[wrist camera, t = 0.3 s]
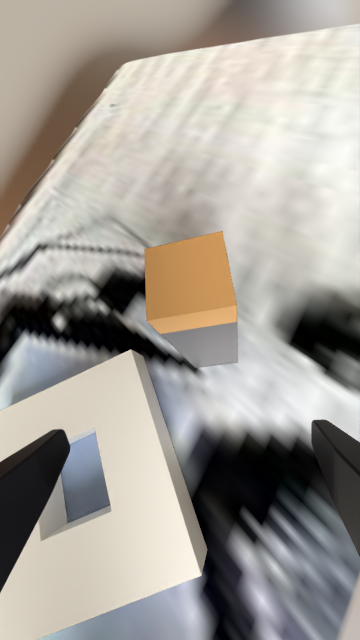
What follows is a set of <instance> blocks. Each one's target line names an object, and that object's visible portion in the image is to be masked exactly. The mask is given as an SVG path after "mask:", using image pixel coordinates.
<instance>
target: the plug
mask: <svg viewBox="0 0 360 640" xmlns="http://www.w3.org/2000/svg"><path fill="white" fill-rule="evenodd" d="M144 250H145V282H146V314H147V322H148V323H149V324H151V325H152V326H153V327H154V328H155V329H156V330H157V331H158V332H159V333H160V334H161V335H162V336H163V337H164V338H165V339H166V340H167V341H168V342H169V343H170V344H171V345H172V346H173V347H174V348H175V349H176V350H177V351H179V352H180V353H181V354H182V355H183V356H184V357H185V358H186V359H187V360H188V361H189V362H190V363H191V364H192V365H193V366H194V367H195V368H199V367H207V366H215V365H223V364H231V363H238V342H237V304H236V299H235V293H234V288H233V283H232V278H231V273H230V268H229V263H228V258H227V253H226V248H225V242H224V237H223V232H222V231H221V232H216V233H212V234H208V235H203V236H199V237H195V238H190V239H186V240H182V241H178V242H173V243H169V244H165V245H160V246H156V247H152V248H147V249H144Z"/></svg>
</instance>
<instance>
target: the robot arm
mask: <svg viewBox="0 0 360 640" xmlns="http://www.w3.org/2000/svg"><path fill="white" fill-rule="evenodd" d="M312 446H313V449H314V452H315V455H316V457H317V460H318V463H319V465H320V468H321V471H322V473H323V476H324V479H325V481H326V484H327V487H328V489H329V492H330V495H331V497H332V500H333V502H334V504H335V506H336V509H337V511H338V513H339V515H340V517H341V519H342V521H343V523H344V525H345V527H346V529H347V531H348V533H349V535H350V537H351V540H352V542H353V544H354V546H355V548H356V550H357V552H358V554H359V556H360V442H358V441H357V440H355V439H354V438H352V437H351V436H349V435H348V434H347V433H345V432H344V431H342V430H341V429H339V428H338V427H336V426H335V425H333V424H332V423H330V422H329V421H327V420H313V421H312ZM69 452H70V444H69V441H68V438H67V435H66V433H65V431H64V430H63V429H53V430H51V431H49V432H48V433H46V434H44V435H43V436H41V437H40V438H38V439H36V440H35V441H33V442H32V443H30V444H28V445H27V446H25V447H23V448H22V449H20V450H19V451H17V452H15V453H14V454H12V455H11V456H9V457H7V458H6V459H4V460H2V461H1V462H0V593H1V591H2V589H3V587H4V585H5V583H6V581H7V579H8V577H9V575H10V574H11V572H12V570H13V568H14V566H15V564H16V562H17V560H18V558H19V556H20V554H21V552H22V551H23V549H24V547H25V545H26V543H27V541H28V539H29V537H30V535H31V533H32V531H33V529H34V527H35V526H36V524H37V522H38V520H39V518H40V516H41V514H42V512H43V510H44V508H45V506H46V504H47V502H48V500H49V498H50V496H51V494H52V492H53V490H54V488H55V485H56V483H57V481H58V478H59V476H60V473H61V471H62V469H63V466H64V464H65V462H66V459H67V457H68V455H69Z"/></svg>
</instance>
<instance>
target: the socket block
mask: <svg viewBox="0 0 360 640" xmlns="http://www.w3.org/2000/svg"><path fill="white" fill-rule="evenodd" d="M53 429H63V430H64V431H65V433H66V435H67V438H68V441H69V444H71V443H73V442H75V441H77V440H80V439H82V438H84V437H86V436H89V435H91V434H93V433H95V432H96V437H97V442H98V447H99V452H100V457H101V462H102V467H103V471H104V476H105V481H106V486H107V491H108V496H109V501H110V506H107V507H105V508H103V509H100V510H98V511H95V512H93V513H91V514H88V515H86V516H84V517H81V518H79V519H77V520H74V521H72V522H69V523H68V522H67V515H66V507H65V500H64V493H63V485H62V478H61V473H60V476H59V478H58V481H57V483H56V485H55V488H54V490H53V492H52V494H51V496H50V498H49V500H48V502H47V504H46V506H45V508H44V510H43V512H42V514H41V516H40V518H39V520H38V522H37V524H36V526H35V527H34V529H33V531H32V533H31V535H30V537H29V539H28V541H27V543H26V545H25V547H24V549H23V551H22V552H21V554H20V556H19V558H18V560H17V562H16V564H15V566H14V568H13V570H12V572H11V574H10V575H9V577H8V579H7V581H6V583H5V585H4V587H3V589H2V591H1V593H0V640H37V639H40V638H42V637H45V636H47V635H50V634H53V633H55V632H58V631H60V630H63V629H65V628H68V627H71V626H73V625H76V624H78V623H81V622H83V621H86V620H89V619H91V618H94V617H96V616H99V615H101V614H104V613H107V612H109V611H112V610H114V609H117V608H119V607H122V606H124V605H127V604H130V603H132V602H135V601H137V600H140V599H142V598H145V597H148V596H150V595H153V594H155V593H158V592H160V591H163V590H166V589H168V588H171V587H173V586H176V585H178V584H181V583H184V582H186V581H189V580H191V579H194V578H196V577H199V576H201V575H202V570H203V566H204V561H205V557H206V552H207V547H206V544H205V541H204V538H203V535H202V532H201V529H200V526H199V523H198V520H197V517H196V514H195V511H194V508H193V505H192V502H191V499H190V496H189V493H188V490H187V487H186V484H185V481H184V478H183V475H182V472H181V469H180V466H179V463H178V460H177V457H176V453H175V450H174V447H173V444H172V441H171V438H170V435H169V432H168V429H167V426H166V423H165V420H164V417H163V414H162V411H161V408H160V405H159V402H158V399H157V396H156V393H155V390H154V387H153V384H152V381H151V378H150V375H149V372H148V369H147V366H146V363H145V360H144V357H143V356H142V355H140V354H139V353H137V352H135V351H133V350H129V351H126V352H124V353H122V354H120V355H118V356H116V357H114V358H111V359H109V360H107V361H105V362H103V363H101V364H99V365H97V366H94V367H92V368H90V369H88V370H86V371H84V372H82V373H79V374H77V375H75V376H73V377H71V378H69V379H67V380H65V381H62V382H60V383H58V384H56V385H54V386H52V387H50V388H47V389H45V390H43V391H41V392H39V393H37V394H35V395H33V396H30V397H28V398H26V399H24V400H22V401H20V402H18V403H15V404H13V405H11V406H9V407H7V408H5V409H3V410H1V411H0V462H1V461H2V460H4V459H6V458H7V457H9V456H11V455H12V454H14V453H15V452H17V451H19V450H20V449H22V448H23V447H25V446H27V445H28V444H30V443H32V442H33V441H35V440H36V439H38V438H40V437H41V436H43V435H44V434H46V433H48V432H49V431H51V430H53Z"/></svg>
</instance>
